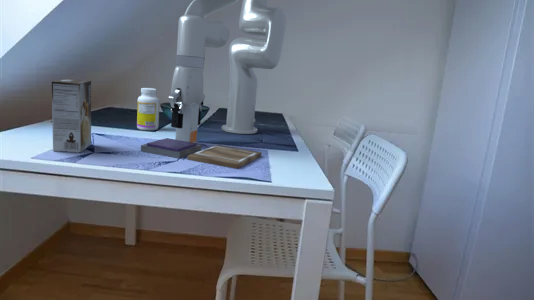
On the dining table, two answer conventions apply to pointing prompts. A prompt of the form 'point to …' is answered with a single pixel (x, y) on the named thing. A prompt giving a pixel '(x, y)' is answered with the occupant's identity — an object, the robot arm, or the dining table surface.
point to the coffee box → (71, 115)
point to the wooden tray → (225, 156)
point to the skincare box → (189, 124)
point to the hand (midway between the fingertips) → (186, 126)
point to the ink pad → (171, 148)
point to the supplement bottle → (148, 110)
